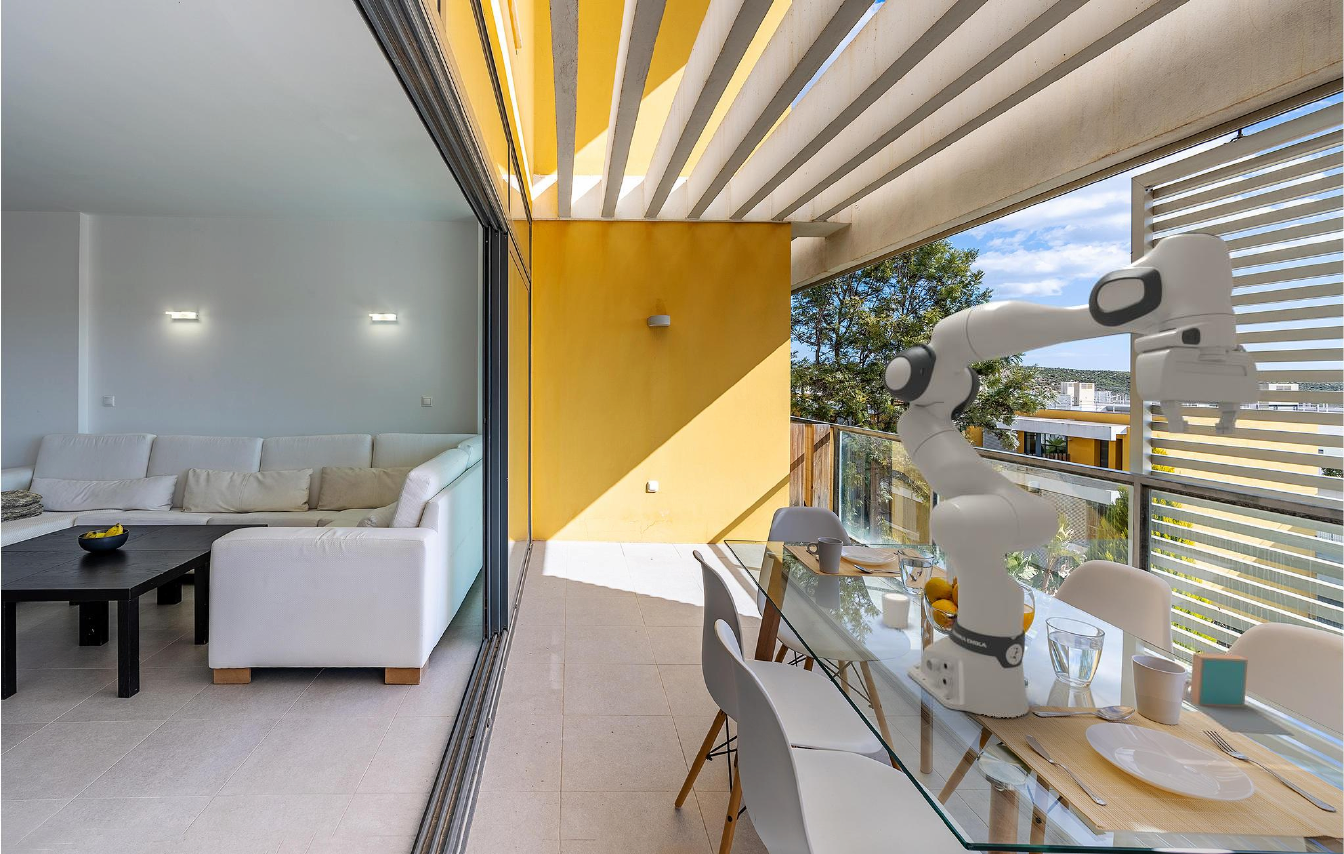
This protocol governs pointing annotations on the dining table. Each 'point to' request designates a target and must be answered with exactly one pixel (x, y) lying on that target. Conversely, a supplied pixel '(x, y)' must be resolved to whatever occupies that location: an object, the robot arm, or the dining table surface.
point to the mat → (1240, 719)
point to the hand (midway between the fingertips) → (1202, 434)
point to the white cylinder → (895, 609)
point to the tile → (1218, 680)
